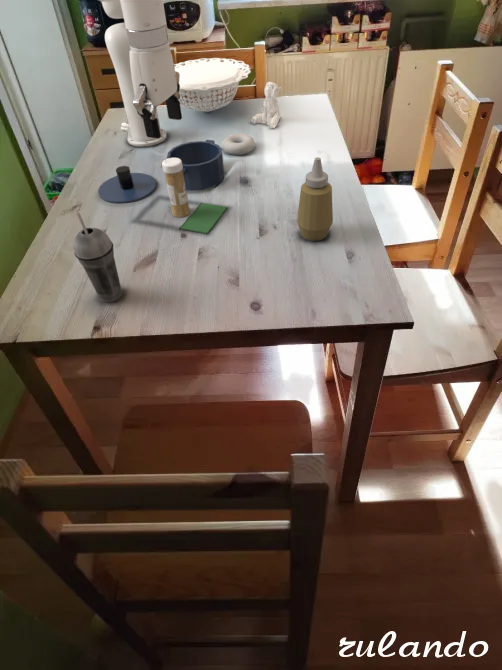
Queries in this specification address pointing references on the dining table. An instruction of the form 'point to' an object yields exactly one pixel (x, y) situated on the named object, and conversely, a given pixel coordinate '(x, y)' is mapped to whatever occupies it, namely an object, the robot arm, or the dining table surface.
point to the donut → (238, 144)
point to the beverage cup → (98, 261)
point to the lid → (127, 186)
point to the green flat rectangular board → (203, 218)
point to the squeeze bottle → (315, 204)
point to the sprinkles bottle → (176, 186)
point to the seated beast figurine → (269, 107)
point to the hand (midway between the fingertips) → (165, 127)
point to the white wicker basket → (209, 82)
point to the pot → (200, 164)
